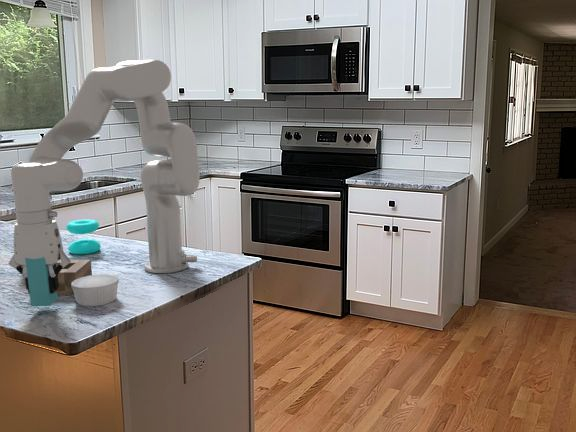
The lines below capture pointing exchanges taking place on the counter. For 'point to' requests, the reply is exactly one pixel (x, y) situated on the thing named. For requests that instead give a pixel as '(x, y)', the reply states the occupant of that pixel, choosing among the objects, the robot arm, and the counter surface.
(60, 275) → the socket block
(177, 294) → the counter surface
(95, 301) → the ramekin
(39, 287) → the peg
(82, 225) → the teal stacked rings
